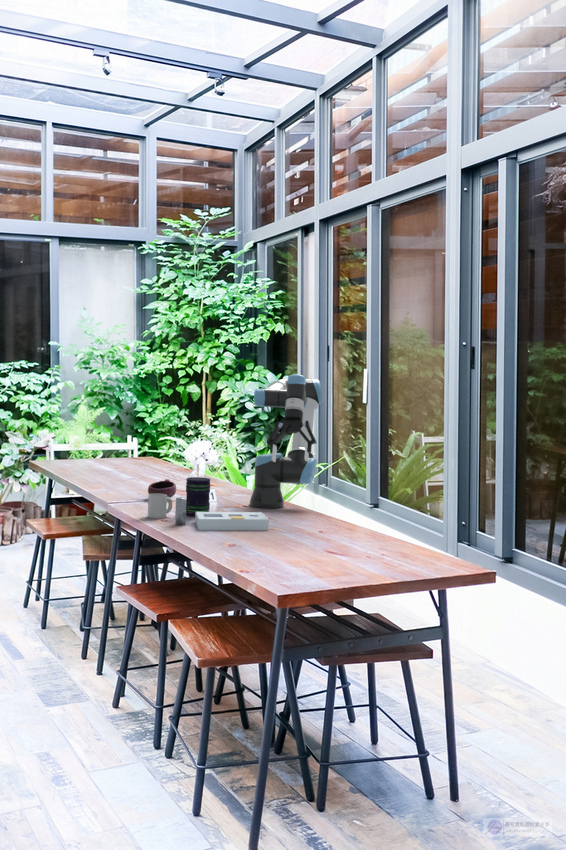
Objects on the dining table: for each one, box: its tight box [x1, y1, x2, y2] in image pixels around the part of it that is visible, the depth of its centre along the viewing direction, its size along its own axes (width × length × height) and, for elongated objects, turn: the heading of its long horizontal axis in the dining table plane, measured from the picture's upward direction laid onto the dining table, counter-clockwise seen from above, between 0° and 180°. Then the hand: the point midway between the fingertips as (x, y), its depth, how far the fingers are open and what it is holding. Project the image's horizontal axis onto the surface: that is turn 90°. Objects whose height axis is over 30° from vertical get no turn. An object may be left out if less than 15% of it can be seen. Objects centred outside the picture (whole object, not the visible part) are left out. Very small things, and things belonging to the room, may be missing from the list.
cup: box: [147, 493, 173, 520], centre depth 322 cm, size 7×10×9 cm
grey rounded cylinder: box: [174, 496, 187, 526], centre depth 308 cm, size 4×4×10 cm
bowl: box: [147, 478, 177, 499], centre depth 369 cm, size 16×13×8 cm
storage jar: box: [185, 476, 211, 518], centre depth 329 cm, size 10×10×15 cm
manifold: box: [194, 511, 270, 531], centre depth 308 cm, size 16×26×4 cm, turn 101°
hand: (289, 460), depth 321 cm, fingers open, 13 cm apart
